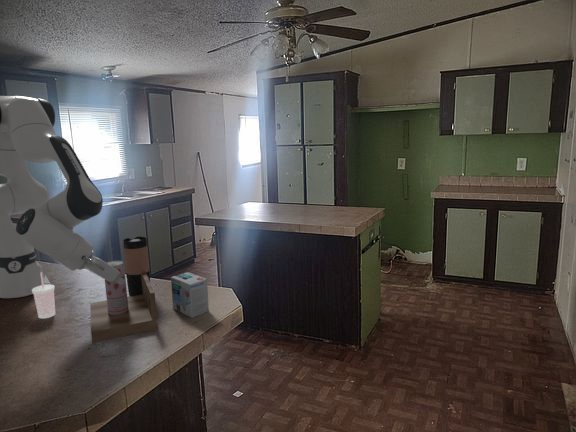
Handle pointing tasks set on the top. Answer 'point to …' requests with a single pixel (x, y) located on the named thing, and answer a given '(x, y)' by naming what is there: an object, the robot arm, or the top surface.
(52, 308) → the beverage cup
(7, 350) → the top surface
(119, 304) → the beverage can
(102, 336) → the walnut shelf stand
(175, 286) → the light bulb box
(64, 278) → the top surface
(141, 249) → the travel mug
